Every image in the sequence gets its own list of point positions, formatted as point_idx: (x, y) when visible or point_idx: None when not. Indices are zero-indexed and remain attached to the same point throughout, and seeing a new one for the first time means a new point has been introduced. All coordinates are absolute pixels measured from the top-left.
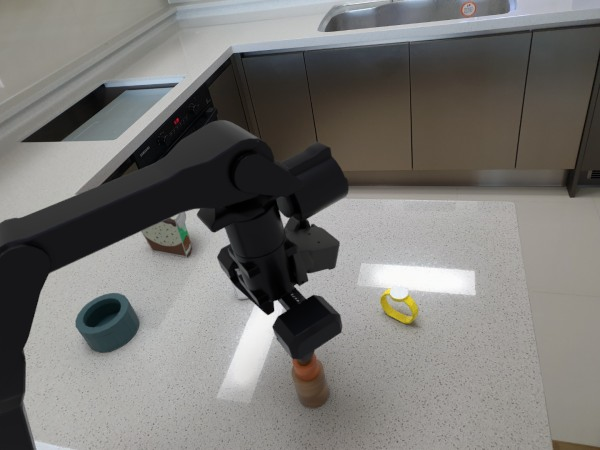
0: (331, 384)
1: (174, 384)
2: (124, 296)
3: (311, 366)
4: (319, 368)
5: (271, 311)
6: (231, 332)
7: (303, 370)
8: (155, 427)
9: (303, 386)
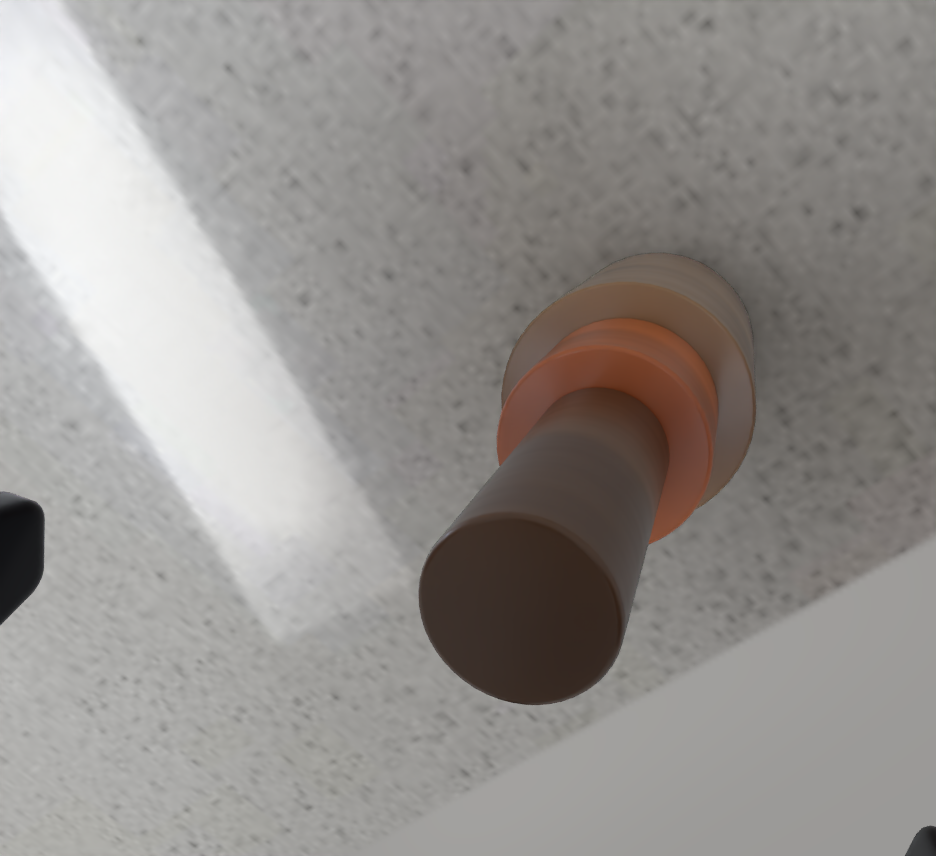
0: (704, 228)
1: (95, 690)
2: None
3: (704, 473)
4: (689, 338)
5: (21, 548)
6: (18, 339)
7: (667, 532)
8: (212, 852)
9: None
